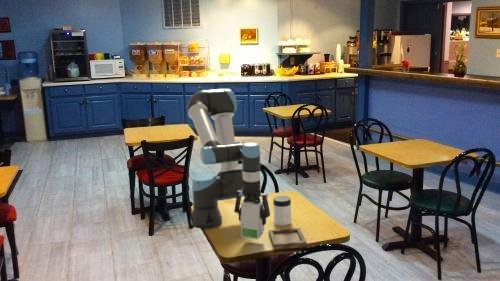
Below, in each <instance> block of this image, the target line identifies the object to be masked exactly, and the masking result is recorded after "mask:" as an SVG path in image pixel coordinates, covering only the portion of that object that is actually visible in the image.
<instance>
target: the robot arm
mask: <svg viewBox="0 0 500 281" xmlns="http://www.w3.org/2000/svg"><path fill="white" fill-rule="evenodd" d="M237 105H238V102H237V97H236V95H235V92H234V91H233V90H232V89H230V88H216V89H214V88H213V89H202V90H198V91H195V93H193V94H192V95H191V96H190V98H189V99H188V101H187V104H186V112H187V114H188V117H189V119H191V120H192V122H193V125H194V128H195V130H196V132H197V136H198V139H199V141H200V143H201V146H202V147H201V148H200V150H199V151H200V160H201V163H202V164H204V165H217V164H220V169H219V171H218V175H217V174H216V173H213V172H210V173H209V172H206V173H201V174H199V175H196V176H195V177H194V178H193V179H192V182H191V190H192V205H193V206H192V211H191V212H192V213H191V216H190V226H192V227H194V228H195V229H202V230H203V229H213V228H216V227H219V226H220V225H221V224H223V216H222V214H221V211H220V209H219V204H218V203H219V202H218V201H225V200H230V199H231V200H232V199H235V205H234V213H237V214H238V221H239V222H241V203H242V202H243V201H244V202H246V201H252V202H254V203H255V204H259V203H260V202H261V201H263V206H261V207H260V215H261V218H260V233H262V232H263V233H264V231H265V225H266V224H267V218H269V217H270V216H271V211H270V210H271V209H270V206H269V201H268V196H269V194H268V193H264V192H263V193H262V192H261V148H260V147H261V146H260V145H259V143H257V142H251V141H250V142H245V141H242V140H239V141H236V139H235V132H234V124H233V117H234V116H235V112H236V111H237V108H238V106H237ZM209 114H210V117H209ZM211 119H212V120H214V126H213V124H212V122H211ZM214 127H215V128H214ZM239 162H241V167H240V166H239ZM243 197H244V198H243ZM260 197H261V198H260ZM242 198H243V200H242ZM261 199H262V200H261Z"/></svg>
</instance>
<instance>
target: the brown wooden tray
mask: <svg viewBox="0 0 500 281" xmlns="http://www.w3.org/2000/svg"><path fill="white" fill-rule="evenodd" d="M268 236H269V239H270V242H271V245H272V248H273V250H282V249H296V248H297V249H298V248H307V247H308V242H307V240H306V238H305V236H304V234H303V232H302V230H301V227H291V228H290V227H289V228H277V229H276V228H275V229H268Z"/></svg>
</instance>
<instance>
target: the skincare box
mask: <svg viewBox="0 0 500 281" xmlns="http://www.w3.org/2000/svg"><path fill="white" fill-rule="evenodd" d="M261 206H263V201H262V200H261V202H260V203H259V204H255V203H254V202H252V201H246V202H244V201H243V200H242V201H241V202H240V208H241V221H240V237H242V238H247V239H253V240H259V239H260V238H261V237H262V236H263V234H264V231H263V232H262V233H260V218H261V215H260V207H261ZM263 207H264V206H263Z"/></svg>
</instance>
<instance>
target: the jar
mask: <svg viewBox="0 0 500 281" xmlns="http://www.w3.org/2000/svg"><path fill="white" fill-rule="evenodd" d="M272 201H273V205H272V206H273V207H272V208H273V210H272V211H273V223H274V226H275V225H276V226H281V227H284V226H287V225H291V224H292V205H291V204H292V201H291V197H289V196H287V195H278V196H275V197H273V200H272Z"/></svg>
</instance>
